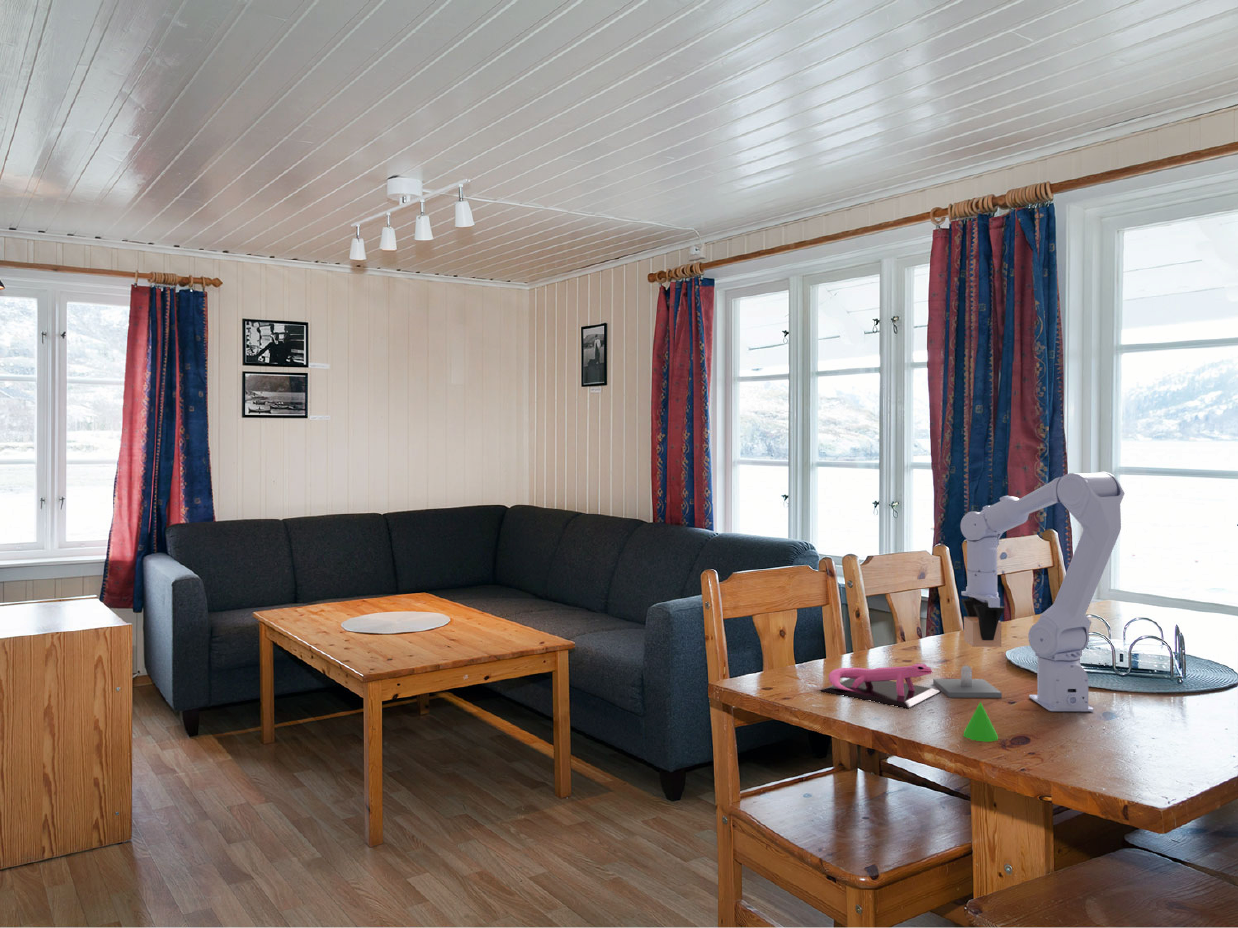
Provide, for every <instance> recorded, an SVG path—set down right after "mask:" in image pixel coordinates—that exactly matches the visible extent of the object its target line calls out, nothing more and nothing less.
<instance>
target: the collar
mask: <svg viewBox="0 0 1238 928" xmlns="http://www.w3.org/2000/svg"><path fill="white" fill-rule="evenodd" d="M963 641H964V642H965V643H966V644H968V645H969V646H970V647H974V648H975V647H976V648H977V647H978V648H979V647H981V648H983V647H984V648H987V647H989V648H991V647H993V648H999V647H1000V648H1001V647H1002V621H1001V620H999V622H998V624H997V628H996V632H995V636H994V640H982V638H981V634H980V626H979V620H978V617H968V616H963Z"/></svg>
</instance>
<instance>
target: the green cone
mask: <svg viewBox="0 0 1238 928" xmlns="http://www.w3.org/2000/svg"><path fill="white" fill-rule="evenodd" d="M963 733H964V735H962V737H963V736H964V737H963V738H967V739H968V738H970V739H969V740H971V739H972V740H971V741H974V740H976V741H977V742H985V743H988V742H989V743H990V742H995V741H998V740H999V735H998V734H997V731H996V729H995V727H994V725H993V724H992V721H991V719H990V717H989V716H988V714H987V711H986V709H985V708H984V706H983V703H982V702H981V701H980V702H979V703H978V705H977V707H976V710H975V711H974V712H973V714H972V716H971V718H970V720H969V722H968V723H967V725H966V727H965V729H964V731H963Z"/></svg>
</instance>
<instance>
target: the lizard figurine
mask: <svg viewBox="0 0 1238 928" xmlns="http://www.w3.org/2000/svg"><path fill="white" fill-rule="evenodd" d="M932 673H933V674H934V671H933V670H932V668H931V667H929V666H928V665H927V664H925V663H919V662H918V663H914V664H913V665H912V664H911V665H909V666H908V665H907V666H889V667H886V666H885V667H877V668H864V667H863V668H862V667H840V668H835V669H833V670H831V672H829V675H828V681H829V683H830V684H831V685H830V686H828V687H824V688H823V689H821V690H819V691H821V693H825V692H826V693H825V694H830V693H831V694H830V695H835V694H836V696H840V695H844V696H843V697H845V696H848V697H847V698H850V697H854V698H853V699H855V698H858V699H857V700H860V699H862V700H861V701H865V700H871V701H875V702H880V703H883V704H882V705H885V704H887V705H886V706H890V705H894V706H893V707H895V706H898V707H897V708H900V707H903V708H902V709H905V708H906V710H910V709H911V707H912V708H913V706H914V707H916V706H917V705H919V704H922V703H924V702H925V700H926V701H928V700H930V699H931V698H933V697H935V695H936V696H937V695H939V694H941V693H942V691H941V690H940V689H939V690H938V689H935V688H932V687H927V686H921V685H915V684H913V681H912V678H918V677H922V676H925V675H930V674H932ZM844 678H845V680H842V681H841V679H844ZM904 680H905V683H904ZM875 702H874V703H875ZM880 703H879V704H880ZM915 705H916V706H915ZM909 708H910V709H909Z"/></svg>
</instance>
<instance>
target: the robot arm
mask: <svg viewBox="0 0 1238 928" xmlns="http://www.w3.org/2000/svg"><path fill="white" fill-rule="evenodd" d="M1124 496H1125V491H1124V489H1123V487H1122V485H1121V484H1120V482H1119V479H1118V478H1117V477H1116V476H1114V475H1113V474H1112V473H1110V472H1106V471H1099V472H1091V473H1087V472H1086V473H1077V472H1070V473H1066V474H1064V475H1063V476H1059V477H1056V478H1054V479H1053V480H1051V481H1050V482H1048V483H1045V485H1043V486H1040V487H1039V488H1037V489H1035V490H1034V491H1032V492H1029V493H1028V494H1026V495H1024V496H1022V497H1021V498H1019V497H1016V496H1012V495H1011V496H1010V495H1003V496H1001V497H999V501H998V502H996V503H994V504H991V505H985V506H983V507H982V510H980V511H979V512H978V511H968V512H967V513H965V515H963V516H962V519H961V521H960V532H961V534H962V535H963V537H964V538H965V539H966V564H967V565H966V569H967V570H966V580H967V581H966V582H967V584H966V585H967V586H966V587H965V590H963V591H962V590H961V596H964V597H968V598H961V604H962V605H963V607H964V609H965V612H966V614H967V615H966V616H967V617H978V620H979V626H980V634H981V638H982V640H994V636H995V632H996V628H997V624H998V622H999V621H1000V618H1001V617H1002V615H1003V613H1004V612H1005V610H1006V609H1005V606H1002V605H1001V597H999V592H998V546H1000V539H1001V536H1002V535H1003V534H1004V533H1005V532H1006V531H1009V530H1012V529H1013V528H1016V527H1018V526H1021V525H1023V524H1025V523H1026V522H1027V521H1028V519H1029V515H1030V514H1032V513H1034V512H1037V511H1040V510H1042V509H1044V508H1047V507H1050V506H1053V505H1055V504H1059V503H1060V504H1062V505H1063V506H1064V508H1065V509H1066V510H1067V511H1068V512H1069V513H1070V514H1071V515H1072V516H1073V517H1074V519H1075V520H1076V521H1077V522H1078V523H1079V524H1080V526H1081V527H1082V532H1081V535H1080V538H1079V539H1078V543H1077V545H1076V547H1075V550H1074V553H1073V555H1072V557H1071V560H1070V563H1069V564H1068V565H1069V566H1068V568H1067V569H1066V572H1065V575H1064V577H1063V580H1062V583H1061V585H1060V588H1059V590H1058V592H1057V595H1056V597H1055V600H1054V602H1053V604H1052V605H1050V607H1048V608H1047V609H1046V610H1045V611H1043V612H1042V613H1040V617H1039V619H1038V620H1037V621H1036V622H1035V623H1034V624H1033V625H1032V626H1031V627H1030V629H1029V631H1028V634H1027V635H1028V637H1027V639H1028V643H1029V645H1030V648H1031V649H1032V651H1033V652H1034V656H1035V657H1036V658H1037V659H1036V660H1037V661H1036V662H1037V664H1036V665H1037V666H1036V667H1037V669H1036V670H1037V673H1036V675H1037V678H1036V679H1037V680H1036V682H1037V692H1036V693H1037V694H1029V695H1028V697H1029V698H1030V699H1031V700H1033V702H1035V703H1037V704H1039V705H1040V706H1041V707H1042V708H1044V709H1046V710H1047V711H1049V712H1094V708H1093V707H1092V706H1090V705H1089V676H1088V673H1087V672H1086V670H1085V669H1084V668H1083V666H1082V665H1081V664H1082V663H1080V657H1081V656H1082V650H1084V649H1085V648H1086V647H1087V645H1088V642H1090V627H1091V624H1092V621H1091V620H1090V618H1089V617H1088V616H1087V612H1088V609H1089V606H1090V605H1091V601H1092V599H1093V597H1094V594H1095V593H1096V589H1097V588H1098V585H1099V583H1100V581H1101V578H1102V575H1104V574H1103V573H1104V571H1105V569H1106V566H1107V564H1108V561H1109V559H1110V557H1111V554H1112V552H1113V550H1114V547H1115V545H1116V543H1117V540H1118V538H1119V535H1120V533H1121V529H1122V526H1121V525H1122V523H1121V522H1122V521H1121V520H1122V518H1121V517H1122V515H1121V504H1122V502H1123V498H1124Z"/></svg>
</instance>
